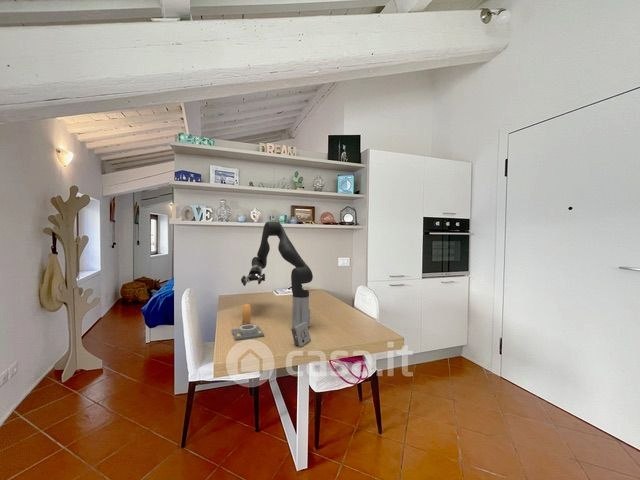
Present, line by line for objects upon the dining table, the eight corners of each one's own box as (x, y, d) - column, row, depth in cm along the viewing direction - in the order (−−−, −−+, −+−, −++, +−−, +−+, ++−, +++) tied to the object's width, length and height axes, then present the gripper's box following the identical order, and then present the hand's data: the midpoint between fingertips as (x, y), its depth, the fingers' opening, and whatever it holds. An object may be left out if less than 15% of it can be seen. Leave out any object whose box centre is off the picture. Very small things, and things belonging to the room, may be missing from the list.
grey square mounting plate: (258, 327, 150) (258, 321, 150) (264, 336, 137) (264, 329, 137) (231, 331, 144) (231, 324, 144) (235, 340, 131) (235, 333, 131)
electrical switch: (300, 347, 124) (299, 327, 124) (291, 346, 127) (290, 326, 127) (311, 341, 132) (309, 321, 133) (302, 340, 135) (300, 321, 135)
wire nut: (249, 322, 159) (249, 303, 159) (251, 324, 155) (251, 305, 155) (241, 323, 157) (241, 304, 157) (243, 325, 153) (243, 306, 153)
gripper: (243, 268, 177) (238, 279, 161) (265, 266, 177) (262, 276, 162) (245, 278, 179) (240, 290, 164) (267, 276, 180) (264, 288, 164)
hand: (251, 283), depth 163 cm, fingers open, 8 cm apart
